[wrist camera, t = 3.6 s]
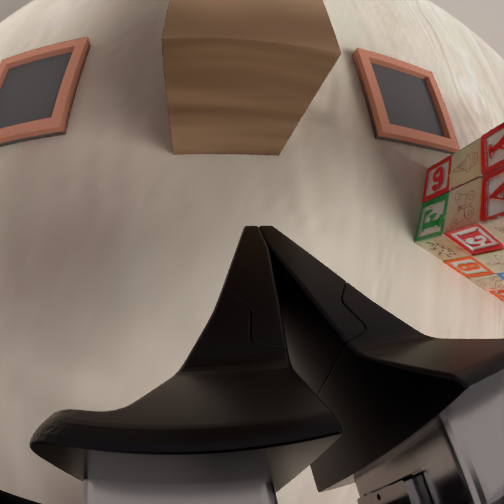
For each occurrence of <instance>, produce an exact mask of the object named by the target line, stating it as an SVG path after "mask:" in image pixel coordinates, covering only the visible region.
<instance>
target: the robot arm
mask: <svg viewBox="0 0 504 504" xmlns="http://www.w3.org/2000/svg"><path fill="white" fill-rule="evenodd" d="M30 448H31V449H32V451H33V452H34V453H36V454H37V455H38V456H40V457H41V458H43V459H44V460H46V461H48V462H49V463H51V464H53V465H54V466H56V467H58V468H59V469H61V470H63V471H65V472H66V473H68V474H70V475H72V476H74V477H76V478H77V479H79V480H81V481H83V504H278V502H277V498H276V492H277V491H279V490H280V489H281V488H282V487H284V486H285V485H286V484H287V483H289V482H290V481H291V480H292V479H293V478H295V477H296V476H297V475H298V474H299V473H301V472H302V471H303V470H304V469H305V468H306V467H308V466H309V465H310V466H311V470H312V473H313V476H314V480H315V483H316V487H317V490H318V492H323V491H327V490H331V489H334V488H338V487H341V486H345V485H348V484H351V483H356V486H357V490H358V493H359V496H360V498H358V500H357V502H358V504H504V339H441V338H434V337H430V336H427V335H424V334H422V333H420V332H419V331H417V330H415V329H414V328H412V327H411V326H409V325H408V324H406V323H405V322H403V321H402V320H400V319H399V318H397V317H396V316H394V315H393V314H391V313H389V312H388V311H386V310H385V309H383V308H382V307H380V306H379V305H377V304H376V303H375V302H373V301H372V300H370V299H369V298H367V297H366V296H365V295H363V294H362V293H361V292H359V291H358V290H357V289H355V288H354V287H353V286H351V285H350V284H349V283H346V281H345V280H343V279H342V278H341V277H340V276H338V275H337V274H336V273H334V272H333V271H332V270H330V269H329V268H328V267H326V266H325V265H324V264H323V263H321V262H320V261H319V260H317V259H316V258H315V257H313V256H312V255H311V254H309V253H308V252H307V251H305V250H304V249H303V248H301V247H300V246H299V245H297V244H296V243H295V242H293V241H292V240H291V239H289V238H288V237H286V236H285V235H284V234H282V233H281V232H280V231H278V230H277V229H276V228H274V227H273V226H259V227H258V226H245V227H244V229H243V232H242V234H241V237H240V240H239V243H238V246H237V248H236V251H235V254H234V257H233V260H232V262H231V265H230V268H229V271H228V274H227V276H226V279H225V282H224V285H223V288H222V291H221V293H220V296H219V299H218V301H217V304H216V306H215V308H214V311H213V313H212V315H211V317H210V319H209V321H208V323H207V325H206V326H205V328H204V330H203V332H202V333H201V335H200V337H199V339H198V340H197V342H196V344H195V345H194V347H193V349H192V351H191V352H190V354H189V356H188V358H187V359H186V361H185V362H184V364H183V365H182V367H181V368H180V370H179V371H178V372H177V373H176V374H175V375H174V376H173V377H172V378H170V379H169V380H167V381H166V382H164V383H163V384H161V385H160V386H158V387H157V388H155V389H154V390H152V391H151V392H149V393H148V394H146V395H145V396H143V397H142V398H140V399H139V400H137V401H135V402H134V403H132V404H131V405H129V406H127V407H124V408H121V409H118V410H113V411H86V410H72V409H69V410H61V411H58V412H55V413H54V414H52V415H51V416H50V417H49V418H48V419H47V420H45V421H44V422H43V423H42V424H41V425H40V426H39V427H38V428H37V430H36V431H35V433H34V434H33V437H32V438H31V441H30ZM0 504H40V503H37V502H34V501H30V500H27V499H24V498H21V497H18V496H15V495H12V494H10V493H7V492H4V491H2V490H0Z"/></svg>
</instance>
